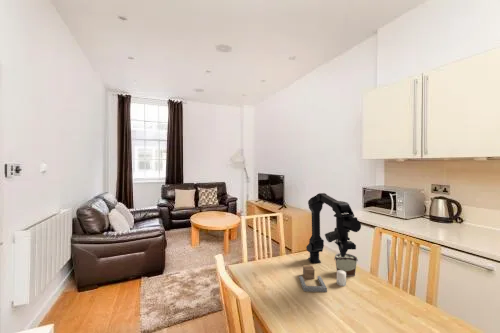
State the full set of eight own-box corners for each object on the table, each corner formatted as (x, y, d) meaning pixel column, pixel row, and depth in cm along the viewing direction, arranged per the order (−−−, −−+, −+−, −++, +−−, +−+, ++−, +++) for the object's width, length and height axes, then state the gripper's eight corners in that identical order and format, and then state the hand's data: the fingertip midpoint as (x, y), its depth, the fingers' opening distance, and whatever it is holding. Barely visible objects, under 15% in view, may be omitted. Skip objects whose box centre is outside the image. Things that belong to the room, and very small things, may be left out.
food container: (353, 270, 130) (353, 253, 130) (357, 275, 124) (357, 257, 124) (331, 269, 131) (331, 252, 131) (334, 274, 125) (334, 256, 125)
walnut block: (303, 274, 126) (303, 265, 126) (312, 274, 126) (312, 265, 126) (304, 278, 121) (304, 269, 121) (314, 279, 121) (314, 269, 121)
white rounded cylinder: (335, 281, 118) (335, 270, 118) (344, 281, 118) (344, 270, 118) (338, 286, 114) (338, 274, 113) (347, 286, 113) (347, 274, 113)
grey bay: (299, 279, 120) (299, 275, 120) (320, 279, 120) (320, 276, 120) (303, 291, 109) (303, 287, 109) (326, 291, 109) (326, 288, 109)
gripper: (321, 222, 126) (321, 250, 126) (332, 232, 108) (333, 265, 108) (341, 222, 126) (341, 250, 126) (356, 232, 108) (356, 265, 107)
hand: (342, 257), depth 117 cm, fingers closed
